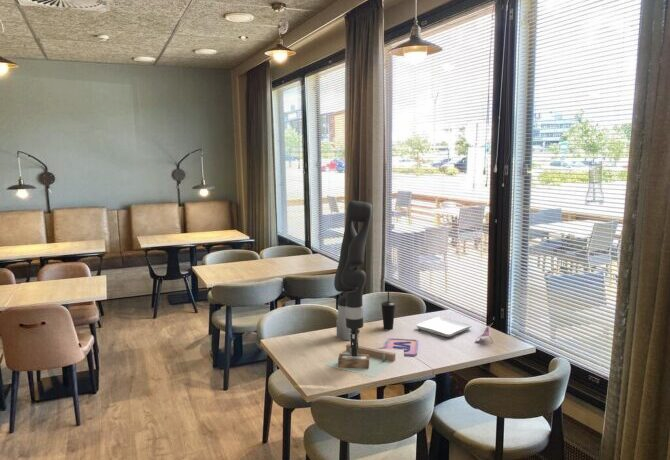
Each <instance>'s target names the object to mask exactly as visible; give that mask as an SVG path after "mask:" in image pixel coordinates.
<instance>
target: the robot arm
mask: <svg viewBox="0 0 670 460" xmlns="http://www.w3.org/2000/svg"><path fill="white" fill-rule="evenodd" d="M372 214H373V205H372V203H370V202H365V201H362V200H361V201H360V200H350V201H349V203H348V205H347V208H346V215H345V225H344V231H343V232H344V233H343V237H342V242H341V247H340V252H339V260H338V264H337V268H336V272H335V275H334V280H333V282H334V283H333V286H334V289H335V291H337V292H339V293H343V292H346V293H345V294H344V295H341V296H339V298H338V299H337V318H336V338H338V339H339V340H342V341H349V343H350V344H351V346H350V347H351V349H352V356H353V357H356V356H357V349H358V346H359V338H360V329H362V328H363V327H364V309H363V308H364V306H363V295H364V288H365V286H366V281H367V274H366V272H365V271H364V270H363V269H355V268H357V267H361V266H363V265H364V261H365V254H366V253H365V251H366V245H367V240H368V235H369V232H370V227H371V226H370V225H371V221H372ZM354 222H356V223H362V227H361V229H360V230H359V231H358V233H357V230H356V229H355V227H354V226H355V225H354Z"/></svg>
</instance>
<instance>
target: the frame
mask: <svg viewBox="0 0 670 460" xmlns="http://www.w3.org/2000/svg"><path fill="white" fill-rule="evenodd" d="M338 356H339V358H338V368H365V369H369V355H366V354H357V356H356V357H353V356H352V354H343V353H339V354H338ZM338 368H337V369H338Z"/></svg>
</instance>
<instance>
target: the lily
mask: <svg viewBox="0 0 670 460" xmlns="http://www.w3.org/2000/svg"><path fill="white" fill-rule="evenodd" d="M493 323H494V322H492V323H491V324H489V325H488V326H486V327H485V329H483V330H481V331H482V332H483V333H482V334H480V335H479V336H478V337H476V339H475V341H477V340H478V339H479V338H480V339H481V338H483V337H489V338H490V339H491V341H492V342H494V340H493V338H492V337H491V336H490V334H489V333H490V332H489V331H490V327H491V326H492V325H493Z"/></svg>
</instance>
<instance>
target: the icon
mask: <svg viewBox="0 0 670 460" xmlns="http://www.w3.org/2000/svg"><path fill="white" fill-rule="evenodd" d="M374 349H376V350H403V356H404V357H417V356H418V349H419V340H418V339H413V338H399V337H397V338H396V337H390V338H388V339H387V340H386V344H385V346H380V347H376V348H374Z"/></svg>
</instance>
